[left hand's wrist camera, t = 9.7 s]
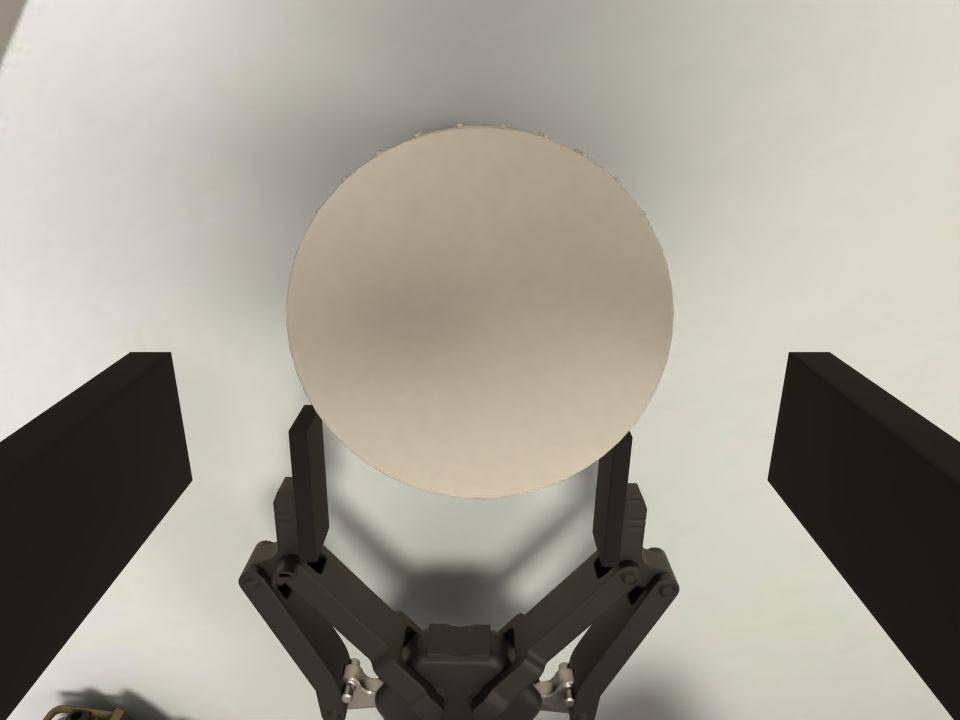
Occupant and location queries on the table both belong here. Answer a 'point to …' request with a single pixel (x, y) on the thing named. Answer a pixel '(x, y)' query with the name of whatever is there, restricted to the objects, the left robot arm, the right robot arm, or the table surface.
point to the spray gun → (85, 713)
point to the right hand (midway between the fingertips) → (461, 419)
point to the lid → (480, 312)
